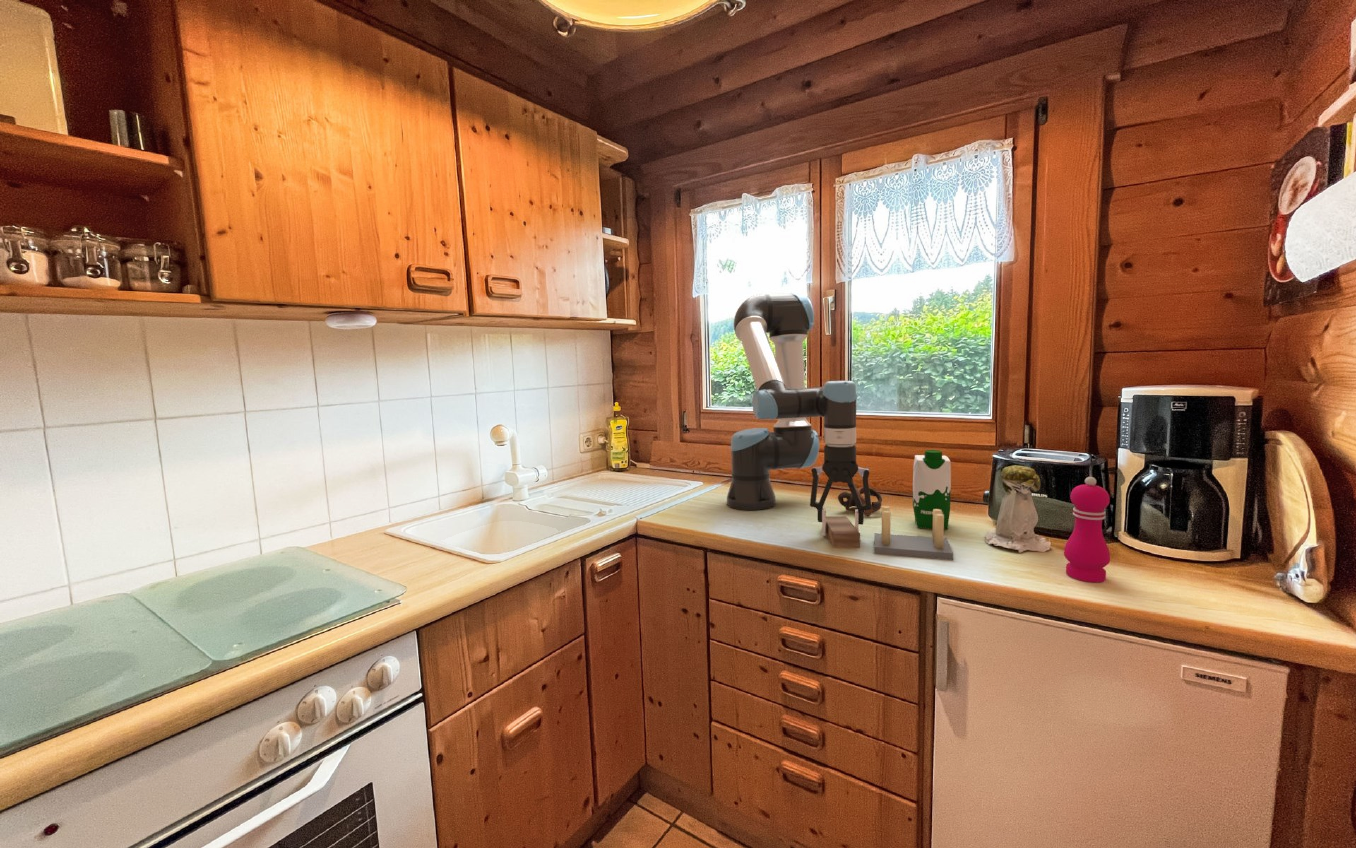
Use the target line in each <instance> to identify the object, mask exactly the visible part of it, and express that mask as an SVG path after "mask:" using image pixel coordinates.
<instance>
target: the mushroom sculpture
mask: <svg viewBox="0 0 1356 848" xmlns="http://www.w3.org/2000/svg"><path fill="white" fill-rule="evenodd" d="M1000 479H1001V480H1002V488H1003V490H1004V491H1005V492H1006V493H1005V494H1004V495H1003V498H1002V499H1001V500H1002V501H1001V504H1000V507H999V511H998V516H997V521H996V526H995V529H989V530H988V531H986V532H985V534H984V537H983V538H984V541H985V544H987V545H988V546H989V545H992V544H993V545H994V546H996V547H998V546H999V547H1002V548H1007V549H1012V550H1017V551H1018V553H1019V554H1020V553H1023V552H1025V551H1033V552H1040V553H1041V552H1042V553H1045V552H1046V551H1049V550H1050V548H1051V539H1050V538H1048V541H1047V540H1046V539H1047V538H1046V537H1041V536H1040V535H1039V534H1036V533H1035V531H1034V529H1035V527H1036V525H1038V524H1037V523H1038V521H1039V517H1038V512H1037V510H1036V507H1035V504H1034V500H1033V498H1032V495H1031V494H1032V493H1035V492H1038V491H1040V489H1041V479H1040V477H1039V475H1038V474H1037V471H1036V470H1035V469H1034V468H1031V467H1028V466H1024V465H1016V464H1015V465H1009V466H1005V467H1004V468H1002V470H1001V472H1000Z"/></svg>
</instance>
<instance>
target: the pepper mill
mask: <svg viewBox="0 0 1356 848" xmlns="http://www.w3.org/2000/svg"><path fill="white" fill-rule="evenodd" d="M1084 483H1085V484H1080V485H1079V484H1078V485H1076V486H1075V487H1073V489H1072V491H1071V492H1070V496H1069V497H1070V501H1071V504H1073V505H1074V507H1073V508H1072V510H1073V512H1072V515H1073V516H1074V521H1075V522H1074V526H1073V527H1074V529H1073V531H1072V532H1071V535H1070V536H1069V538H1068V539H1067V541H1066V543H1065V546H1064V549H1063V550H1064V551H1063V556H1064V557H1065V558H1066V560H1067V561H1068V563H1066V564H1065V574H1066V575H1068V577H1069V578H1072V579H1075V580H1077V581H1082V582H1086V583H1103V582H1105V581H1106V579H1107V571H1106V569H1105V567H1107V566H1108V565H1109V564H1110V562H1111V553H1110V549H1109V547H1108V544H1107V541H1106V540H1105V537H1104V534H1103V520H1105V519H1106V511H1105V509H1106V508H1107V507H1108V506H1110V505H1109V504H1110V494H1109V493H1108V491H1107V490H1106V488H1103V487H1101V486H1100V485H1097V479H1096V478H1095V477H1093V476H1088V477H1086V478H1085V479H1084Z"/></svg>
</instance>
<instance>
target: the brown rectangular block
mask: <svg viewBox="0 0 1356 848" xmlns="http://www.w3.org/2000/svg"><path fill="white" fill-rule="evenodd" d="M825 537H827V539H828V540H830V541H829V543H831V546H832V548H833V549H860V548H861V532H858V530H857V529H856V528H855V524H853V523H852V521H851V520H850V519H849V517H848V516H846V515H836V516H834V515H833V516H832V515H831V516H827V515H826V536H825Z"/></svg>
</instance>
